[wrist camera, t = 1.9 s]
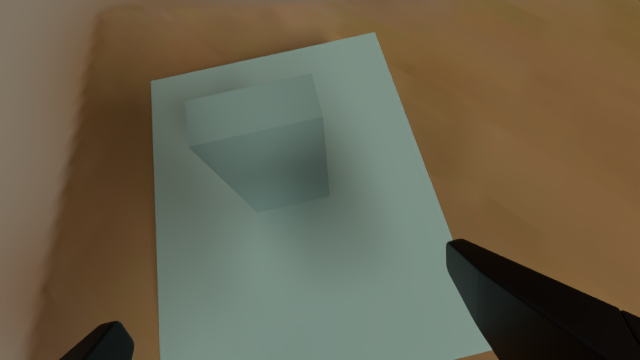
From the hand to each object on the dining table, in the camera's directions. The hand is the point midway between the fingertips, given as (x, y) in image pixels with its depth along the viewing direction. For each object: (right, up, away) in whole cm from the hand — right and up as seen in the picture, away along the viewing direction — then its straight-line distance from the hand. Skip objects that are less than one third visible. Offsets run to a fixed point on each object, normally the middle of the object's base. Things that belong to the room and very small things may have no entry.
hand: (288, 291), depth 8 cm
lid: (-1, +2, +9) cm, 9 cm away
